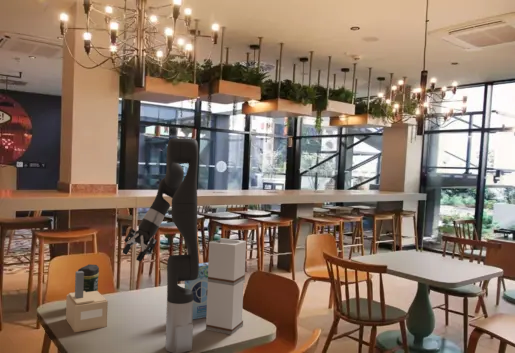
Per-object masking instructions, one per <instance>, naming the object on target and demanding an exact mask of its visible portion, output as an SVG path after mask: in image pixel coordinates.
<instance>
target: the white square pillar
mask: <svg viewBox="0 0 515 353" xmlns="http://www.w3.org/2000/svg"><path fill="white" fill-rule="evenodd" d="M246 255H247V240H241V239H240V240H239V239H233V238H232V239H231V238H221V237H220V240H219V242H216V241H209V242H208V289H207V316H206V317H205V318H206V321H205V322H206V323H205V325H206V326H205V330H207V331H212V332H217V333H221V334H222V333H223V334H227V335H231V336H233V334H234V333H236V332H237V331H239V329H242V327H243V326H244V320H243V306H244V284H245V283H246V282H245V280H246Z"/></svg>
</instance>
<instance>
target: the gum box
mask: <svg viewBox="0 0 515 353" xmlns="http://www.w3.org/2000/svg"><path fill="white" fill-rule="evenodd" d="M208 262H209V261H208ZM208 262H207V261H205V262H199V273H198V277H197V279H196V280H190V281H184V288H186V289H189V290H191V291H192V292H193V320H197V319H201V318H206V316H207V289H208Z"/></svg>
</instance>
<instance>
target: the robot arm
mask: <svg viewBox="0 0 515 353" xmlns="http://www.w3.org/2000/svg"><path fill="white" fill-rule="evenodd" d="M198 163H199V144H198V141H197V139H194V138H184V137H174V138H173V137H172V138H169V140H168V142H167V146H166V172H165V176H164V177H163V178H162V179H161V180H160V182H159V185H158V189H157V192H156V196H155V198H154V200H153V202H152V204H151V205H150V207H149V209H148V210H147V211H146V213H145V214H144V216H143V218H142V220H141V221H140V223H139V225H138V226H137V230H135V229H134V228H131V229H130V230H129V232H128V234H127V235H126V236H125V238H124V242H125V246H124V248H123V249H122V253H123V254H124V255H128V253H129V252H130V250H131V248H132V247H133V246H134V245H136V244H138V245H140V247H141V251H140V252H139V254H138V255H137V256H136V261H137V262H141V261H143V259H144V257H145V255H146V254H149V255H150V254H152V252H153V250H154V248H155V246H156V244H157V242H158V240H157V239H155V238H154V236H155V235H156V234H157V232H158V230H159V228H160V226H161V225H162V223H163V220H164V218H165V216H166V215H167V212H168V211H169V209H170V207H171V219H172V222H173V223H174V225H175V227H176V228H177V230H178V231H179V233H180V234H181V236H182V238H183V240H184V241H185V245H186V248H187V254H172V255H170V256H169V257H168V259H167V263H166V279H167V280H166V282H167V284H166V286H167V288H166V316H165V317H166V318H165V347H164V348H165V351H167V352H168V353H186V352H191V351H193V331H194V329H193V328H194V325H193V320H194V319H193V292H192V291H191V290H189V289H186V288H185V287H183V286H180V285H179V284H178V283H179V282H185V281H190V280H196V279H197V277H198V273H199V263H200V262H199V261H200V259H199V248H198V184H197V183H198V168H199V167H198ZM180 164H188V166H187V167H188V168H187V170H186V171H187V172H186V174H185V172H184V168H183V166H182V165H180ZM164 195H165V196H167V197H169V198H171V204H170V202H168V200H166V199H165V198H164Z"/></svg>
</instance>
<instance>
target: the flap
mask: <svg viewBox="0 0 515 353" xmlns="http://www.w3.org/2000/svg"><path fill="white" fill-rule="evenodd" d="M74 279H75V280H74V281H75V282H74V284H75V285H74V292H69V293H68V295H70V297H71V298H72V299H73V300H74V302H75V303H76V304H83V303H90V302H94V300H93V299H92V298H91V297H90V296H89V295H88V294H87V293H86V292H85V291H83V288H84V272H83V271H78V270H77V271H75V278H74Z"/></svg>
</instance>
